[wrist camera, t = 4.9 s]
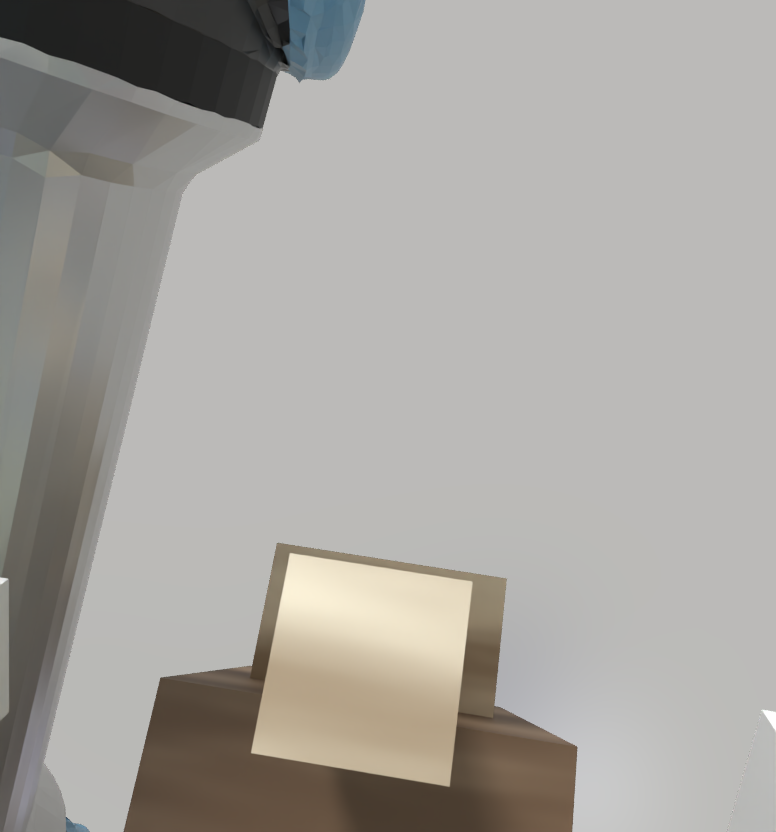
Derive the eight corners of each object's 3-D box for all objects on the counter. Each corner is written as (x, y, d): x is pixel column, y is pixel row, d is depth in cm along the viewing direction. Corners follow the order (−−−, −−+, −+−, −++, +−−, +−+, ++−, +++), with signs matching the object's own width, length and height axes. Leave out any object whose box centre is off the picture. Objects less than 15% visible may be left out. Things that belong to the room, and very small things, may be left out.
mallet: (653, 821, 10) (663, 489, 12) (57, 719, 11) (142, 411, 12) (476, 706, 30) (488, 589, 32) (270, 673, 31) (293, 558, 32)
